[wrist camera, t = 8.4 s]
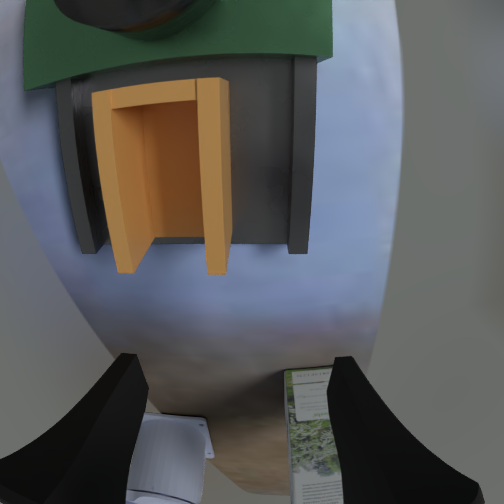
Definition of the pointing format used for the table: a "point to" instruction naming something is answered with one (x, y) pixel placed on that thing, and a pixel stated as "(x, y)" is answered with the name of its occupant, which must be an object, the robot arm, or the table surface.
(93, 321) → the table surface
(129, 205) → the tan arch block
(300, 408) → the syrup box
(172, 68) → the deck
